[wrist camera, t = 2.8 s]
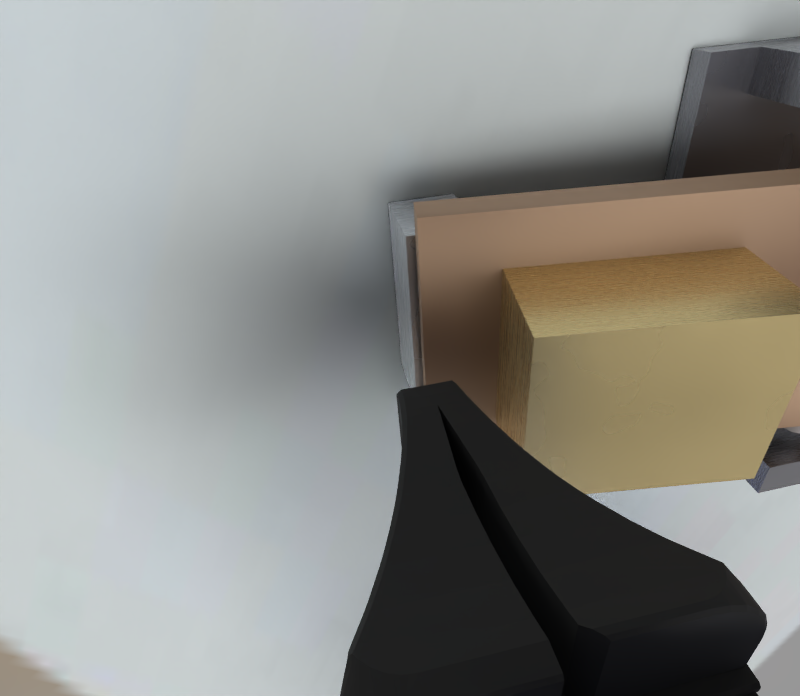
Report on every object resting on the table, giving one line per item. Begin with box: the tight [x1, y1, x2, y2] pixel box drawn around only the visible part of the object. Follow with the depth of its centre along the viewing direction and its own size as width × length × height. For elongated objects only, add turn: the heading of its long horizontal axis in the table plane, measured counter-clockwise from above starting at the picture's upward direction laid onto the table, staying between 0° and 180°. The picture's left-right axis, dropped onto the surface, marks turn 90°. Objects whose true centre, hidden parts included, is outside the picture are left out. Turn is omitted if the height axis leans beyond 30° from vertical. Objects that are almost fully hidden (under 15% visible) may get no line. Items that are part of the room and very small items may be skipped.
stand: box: [388, 37, 800, 493], centre depth 17 cm, size 12×24×6 cm, turn 94°
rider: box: [496, 247, 800, 494], centre depth 14 cm, size 5×6×3 cm
